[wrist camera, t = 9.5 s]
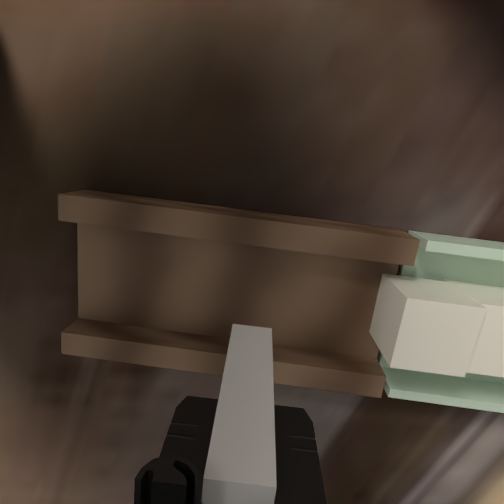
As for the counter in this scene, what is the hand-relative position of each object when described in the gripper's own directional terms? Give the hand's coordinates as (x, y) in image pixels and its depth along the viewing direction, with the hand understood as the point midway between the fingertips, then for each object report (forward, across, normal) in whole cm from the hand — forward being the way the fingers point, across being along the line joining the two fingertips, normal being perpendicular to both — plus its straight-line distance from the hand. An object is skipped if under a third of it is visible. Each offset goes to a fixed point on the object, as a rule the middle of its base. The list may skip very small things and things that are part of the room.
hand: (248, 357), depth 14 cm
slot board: (+10, -1, -1) cm, 10 cm away
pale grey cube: (+9, +10, -1) cm, 13 cm away
